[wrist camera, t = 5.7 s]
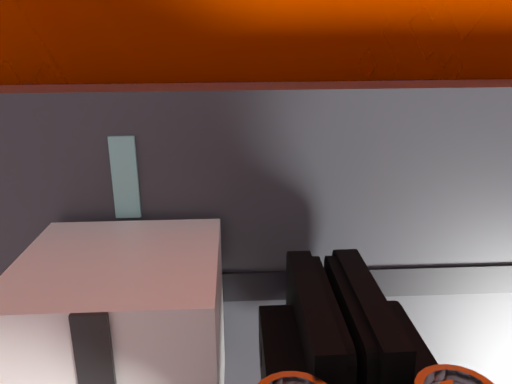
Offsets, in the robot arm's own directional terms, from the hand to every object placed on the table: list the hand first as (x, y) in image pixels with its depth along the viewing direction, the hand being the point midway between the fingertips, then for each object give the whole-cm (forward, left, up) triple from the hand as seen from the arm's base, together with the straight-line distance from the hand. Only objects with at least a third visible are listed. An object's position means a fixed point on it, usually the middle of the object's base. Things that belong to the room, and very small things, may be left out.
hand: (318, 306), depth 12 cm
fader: (0, -4, -1) cm, 4 cm away
